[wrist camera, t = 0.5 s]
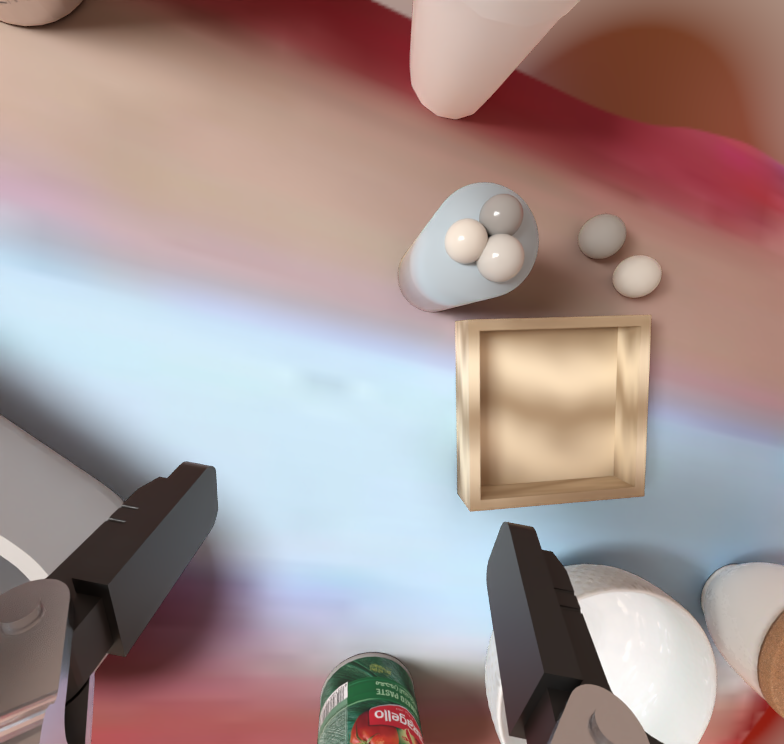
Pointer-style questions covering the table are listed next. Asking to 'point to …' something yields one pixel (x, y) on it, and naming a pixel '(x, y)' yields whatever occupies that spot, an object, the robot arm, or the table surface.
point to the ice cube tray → (43, 507)
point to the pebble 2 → (637, 276)
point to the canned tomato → (369, 703)
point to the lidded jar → (749, 624)
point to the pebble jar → (470, 249)
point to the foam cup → (473, 47)
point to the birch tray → (551, 409)
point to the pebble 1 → (602, 236)
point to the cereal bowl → (636, 655)
